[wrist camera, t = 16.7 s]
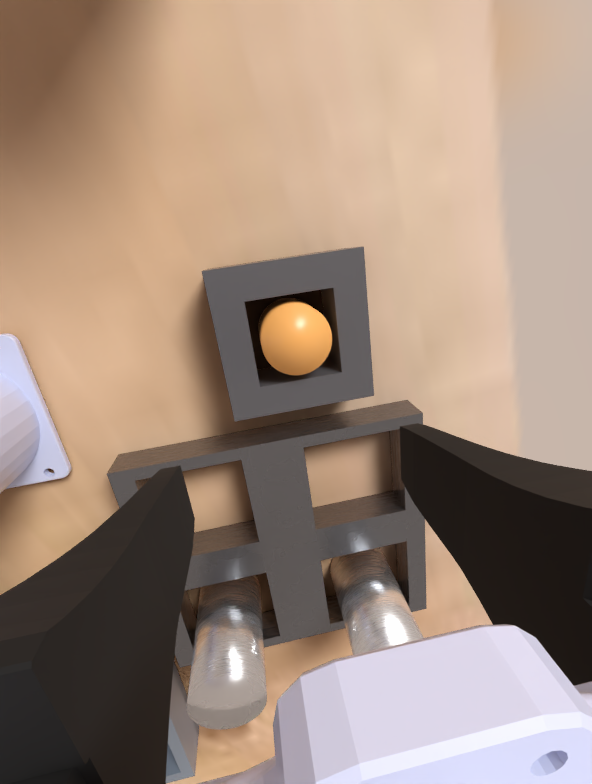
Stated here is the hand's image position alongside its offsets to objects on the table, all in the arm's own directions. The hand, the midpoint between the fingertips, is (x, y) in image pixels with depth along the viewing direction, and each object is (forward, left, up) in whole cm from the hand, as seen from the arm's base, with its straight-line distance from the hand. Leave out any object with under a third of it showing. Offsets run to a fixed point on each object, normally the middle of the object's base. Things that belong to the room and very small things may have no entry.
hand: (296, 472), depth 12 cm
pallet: (-1, -10, -9) cm, 14 cm away
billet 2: (+4, -15, -9) cm, 18 cm away
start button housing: (+1, +3, -9) cm, 10 cm away
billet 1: (-5, -14, -9) cm, 18 cm away
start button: (+1, +3, -9) cm, 9 cm away
